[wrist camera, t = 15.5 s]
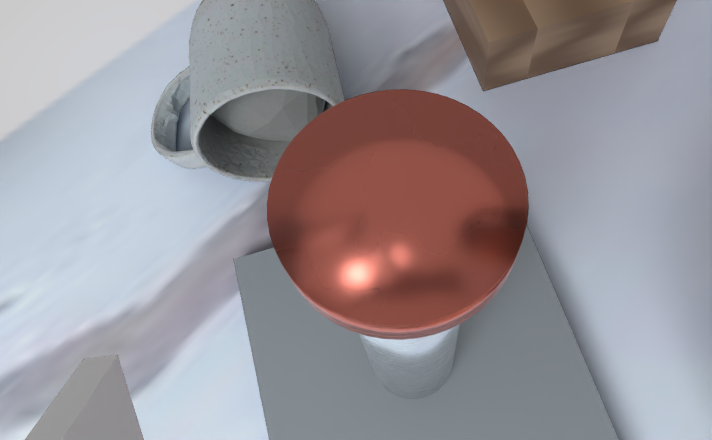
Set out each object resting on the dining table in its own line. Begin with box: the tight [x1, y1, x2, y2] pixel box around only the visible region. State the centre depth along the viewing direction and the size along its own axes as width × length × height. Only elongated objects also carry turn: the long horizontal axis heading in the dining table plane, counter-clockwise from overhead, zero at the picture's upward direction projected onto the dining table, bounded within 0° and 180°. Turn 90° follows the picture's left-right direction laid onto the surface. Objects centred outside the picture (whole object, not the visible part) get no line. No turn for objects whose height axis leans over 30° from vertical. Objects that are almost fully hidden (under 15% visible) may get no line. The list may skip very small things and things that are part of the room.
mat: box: [233, 225, 619, 440], centre depth 29 cm, size 14×14×1 cm
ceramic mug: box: [151, 0, 345, 181], centre depth 33 cm, size 11×8×8 cm
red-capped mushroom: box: [267, 89, 529, 399], centre depth 21 cm, size 6×6×16 cm
